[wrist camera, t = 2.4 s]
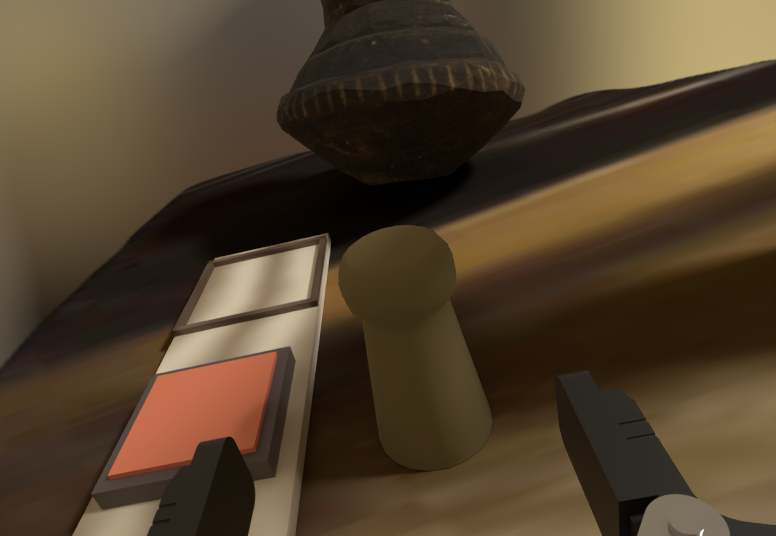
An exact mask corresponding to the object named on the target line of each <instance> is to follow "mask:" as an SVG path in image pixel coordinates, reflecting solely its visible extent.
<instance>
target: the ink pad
mask: <svg viewBox="0 0 776 536" xmlns="http://www.w3.org/2000/svg"><path fill="white" fill-rule="evenodd" d="M295 363H296V360H295V358H294V355H293V353H292V350H291V347H290V346H288V347H283V348H278V349H273V350H269V351H264V352H259V353H254V354H249V355H245V356H240V357H235V358H230V359H225V360H221V361H216V362H211V363H206V364H201V365H197V366H192V367H187V368H182V369H178V370H173V371H168V372H163V373H158V374H154V375H153V376H152V378H151V380H150V382H149V383H148V385H147V387H146V389H145V391H144V393H143V395H142V397H141V399H140V401H139V403H138V405H137V407H136V408H135V410H134V412H133V414H132V416H131V418H130V420H129V422H128V424H127V426H126V428H125V430H124V432H123V433H122V435H121V437H120V439H119V441H118V443H117V445H116V447H115V449H114V451H113V453H112V455H111V457H110V459H109V460H108V462H107V464H106V466H105V468H104V470H103V472H102V474H101V476H100V478H99V480H98V482H97V484H96V485H95V487H94V489H93V491H92V493H91V495H92V497H93V498H94V499H95V501H96V502H97V503H98V505H99V506H100V508H101V509H102V510H106V509H111V508H116V507H121V506H127V505H132V504H137V503H142V502H148V501H153V500H158V499H161V498H162V496H163V493H164V491H165V488H166V486H167V485H168V483H169V482H170V481H171V480H172V478H173V477H174V476H175V475H176V473H177V472H178V471H179V469H180V468H181V467H186V466H190V464H191V461H192V458H193V456H194V453H195V450H196V448H197V445H198V444H199V443H200V442H203V441H208V440H213V439H218V438H224V437H232V438H233V439H234V440H235V442H236V444H237V446H238V448H239V450H240V452H241V455H242V457H243V459H244V461H245V463H246V465H247V467H248V469H249V471H250V473H251V475H252V478H253V481H258V480H263V479H268V478H273V477H276V471H277V465H278V459H279V454H280V448H281V442H282V437H283V431H284V425H285V420H286V414H287V408H288V402H289V397H290V391H291V385H292V380H293V374H294V368H295Z"/></svg>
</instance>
